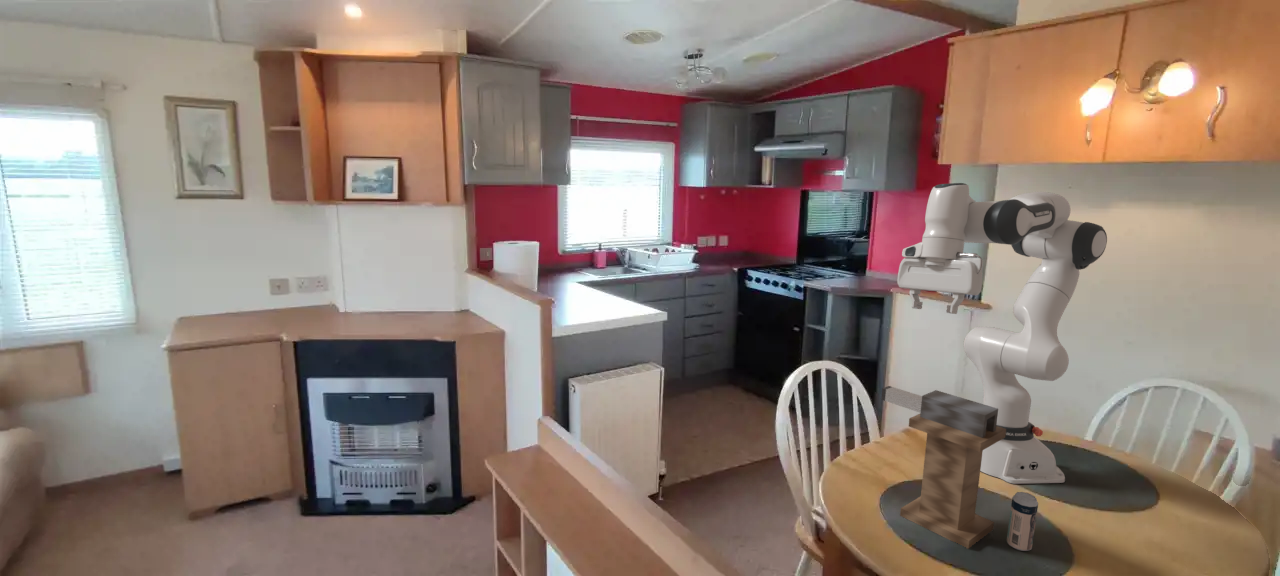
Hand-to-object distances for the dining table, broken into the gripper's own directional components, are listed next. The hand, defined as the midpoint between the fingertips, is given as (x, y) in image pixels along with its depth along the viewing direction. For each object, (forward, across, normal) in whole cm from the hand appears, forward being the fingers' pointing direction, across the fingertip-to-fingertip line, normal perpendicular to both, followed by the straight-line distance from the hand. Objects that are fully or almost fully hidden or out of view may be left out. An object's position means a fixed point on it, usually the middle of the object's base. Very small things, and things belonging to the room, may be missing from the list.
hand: (933, 311), depth 140 cm
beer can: (+50, -17, -16) cm, 55 cm away
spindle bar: (+24, +1, -3) cm, 24 cm away
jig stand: (+49, -4, -9) cm, 50 cm away
